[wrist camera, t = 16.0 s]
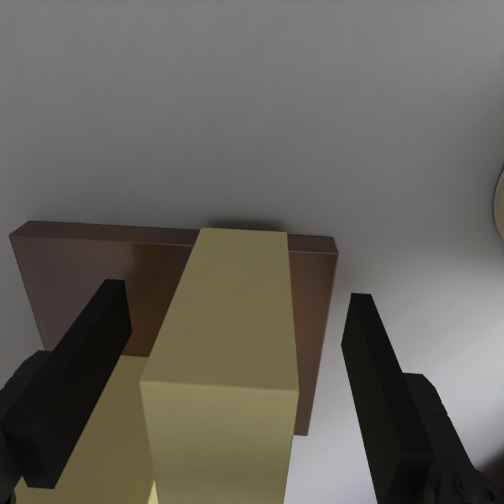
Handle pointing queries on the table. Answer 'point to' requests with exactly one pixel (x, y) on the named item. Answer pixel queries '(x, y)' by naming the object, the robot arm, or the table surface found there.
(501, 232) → the coffee cup
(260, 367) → the block
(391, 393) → the robot arm
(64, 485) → the butter block
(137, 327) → the board
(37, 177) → the table surface
